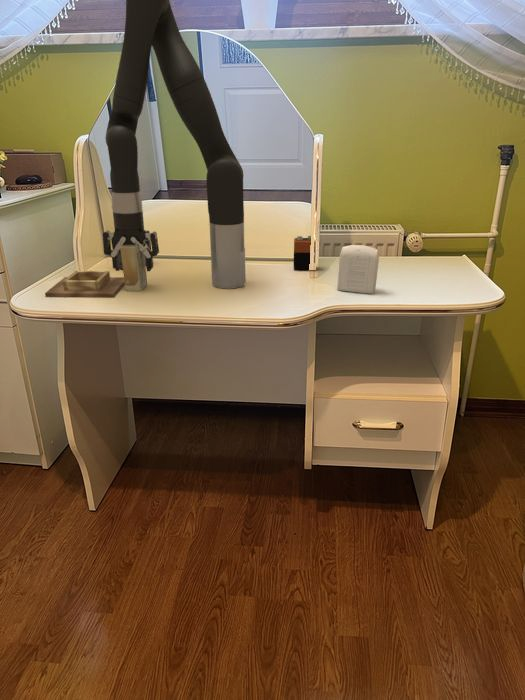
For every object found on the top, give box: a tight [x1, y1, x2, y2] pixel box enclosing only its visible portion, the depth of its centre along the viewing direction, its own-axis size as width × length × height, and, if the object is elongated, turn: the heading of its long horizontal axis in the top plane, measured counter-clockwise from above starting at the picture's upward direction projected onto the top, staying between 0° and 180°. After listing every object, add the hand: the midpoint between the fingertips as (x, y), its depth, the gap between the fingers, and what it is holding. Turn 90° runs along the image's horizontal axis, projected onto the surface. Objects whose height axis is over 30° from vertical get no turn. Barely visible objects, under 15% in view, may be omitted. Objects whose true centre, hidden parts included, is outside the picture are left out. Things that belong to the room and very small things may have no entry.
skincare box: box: [120, 245, 148, 292], centre depth 139 cm, size 6×4×12 cm
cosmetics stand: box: [44, 270, 125, 298], centre depth 141 cm, size 18×14×4 cm
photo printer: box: [336, 244, 380, 295], centre depth 137 cm, size 10×4×12 cm, turn 73°
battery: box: [293, 235, 312, 272], centre depth 156 cm, size 4×7×10 cm, turn 88°
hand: (133, 270), depth 140 cm, fingers open, 8 cm apart
